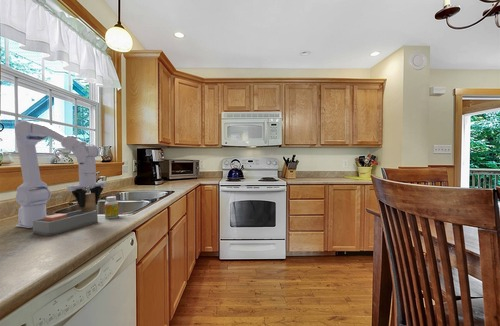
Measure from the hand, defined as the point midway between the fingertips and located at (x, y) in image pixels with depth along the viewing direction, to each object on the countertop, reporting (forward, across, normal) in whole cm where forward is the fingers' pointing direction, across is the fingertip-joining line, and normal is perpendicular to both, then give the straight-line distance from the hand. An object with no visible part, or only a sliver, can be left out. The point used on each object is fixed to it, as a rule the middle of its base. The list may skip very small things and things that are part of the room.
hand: (88, 205), depth 93 cm
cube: (+7, -9, +6) cm, 13 cm away
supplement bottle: (+8, +12, +2) cm, 15 cm away
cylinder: (+2, 0, 0) cm, 2 cm away
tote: (+8, -4, +6) cm, 11 cm away
